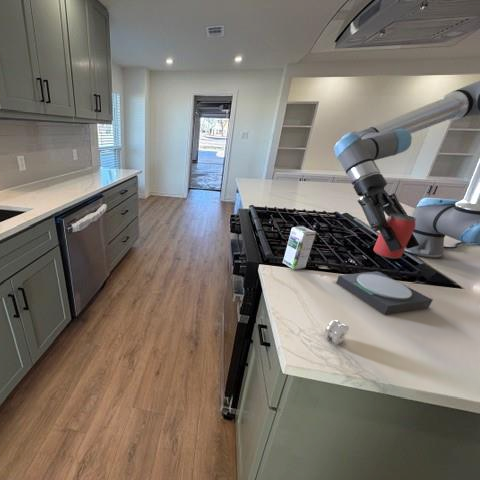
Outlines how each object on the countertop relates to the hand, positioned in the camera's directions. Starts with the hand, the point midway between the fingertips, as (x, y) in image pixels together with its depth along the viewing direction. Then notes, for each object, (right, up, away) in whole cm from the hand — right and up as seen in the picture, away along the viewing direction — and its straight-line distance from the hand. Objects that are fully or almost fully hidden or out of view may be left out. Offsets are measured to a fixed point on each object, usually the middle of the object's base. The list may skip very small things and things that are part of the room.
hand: (405, 248), depth 71 cm
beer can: (-1, -2, +5) cm, 5 cm away
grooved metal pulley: (-28, -22, -10) cm, 37 cm away
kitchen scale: (-1, -15, +7) cm, 16 cm away
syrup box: (-19, -7, +23) cm, 31 cm away
